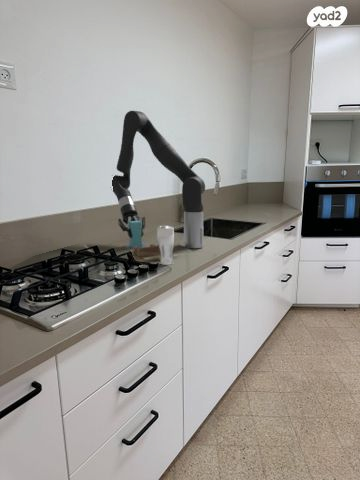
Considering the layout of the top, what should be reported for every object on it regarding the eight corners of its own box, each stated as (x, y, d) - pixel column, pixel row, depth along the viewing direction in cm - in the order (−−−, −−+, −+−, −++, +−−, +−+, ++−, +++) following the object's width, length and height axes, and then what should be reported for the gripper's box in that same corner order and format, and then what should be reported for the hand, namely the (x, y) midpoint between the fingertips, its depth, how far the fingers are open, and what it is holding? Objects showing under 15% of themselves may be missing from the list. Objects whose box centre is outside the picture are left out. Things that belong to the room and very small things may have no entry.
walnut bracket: (124, 254, 154) (124, 243, 152) (157, 250, 160) (157, 240, 159) (136, 264, 140) (136, 252, 138) (172, 258, 146) (172, 247, 145)
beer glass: (168, 266, 136) (167, 229, 133) (154, 263, 140) (153, 227, 136) (177, 262, 142) (177, 226, 138) (163, 259, 145) (163, 224, 142)
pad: (122, 247, 166) (122, 245, 166) (142, 245, 171) (141, 243, 170) (129, 252, 158) (128, 250, 157) (149, 249, 162) (149, 247, 162)
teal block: (129, 246, 165) (128, 221, 162) (138, 245, 167) (137, 220, 164) (132, 248, 161) (131, 222, 158) (141, 247, 163) (141, 222, 160)
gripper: (114, 203, 163) (123, 233, 155) (143, 202, 169) (153, 230, 161) (112, 213, 169) (120, 242, 161) (139, 211, 175) (149, 239, 167)
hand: (136, 236), depth 161 cm, fingers closed on teal block, 4 cm apart
